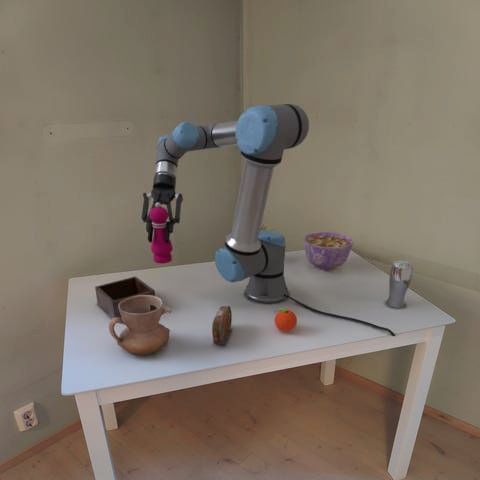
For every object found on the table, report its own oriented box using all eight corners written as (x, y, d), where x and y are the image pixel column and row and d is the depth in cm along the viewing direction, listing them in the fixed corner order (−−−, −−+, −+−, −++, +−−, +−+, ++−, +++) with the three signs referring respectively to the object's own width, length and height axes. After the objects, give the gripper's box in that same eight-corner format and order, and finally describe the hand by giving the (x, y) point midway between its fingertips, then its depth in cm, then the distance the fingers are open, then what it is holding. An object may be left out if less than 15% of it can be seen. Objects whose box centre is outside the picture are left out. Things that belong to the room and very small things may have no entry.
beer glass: (409, 304, 158) (417, 264, 151) (400, 311, 154) (408, 270, 146) (390, 298, 162) (397, 258, 155) (381, 304, 158) (388, 264, 151)
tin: (221, 350, 132) (221, 325, 128) (211, 349, 132) (210, 324, 128) (232, 325, 145) (232, 301, 141) (223, 324, 145) (222, 300, 141)
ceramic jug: (167, 329, 142) (163, 288, 135) (180, 352, 131) (176, 309, 124) (108, 341, 136) (101, 298, 129) (117, 366, 125) (109, 321, 118)
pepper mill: (163, 265, 152) (158, 206, 142) (147, 261, 155) (141, 203, 145) (177, 259, 157) (173, 201, 147) (161, 255, 160) (156, 198, 150)
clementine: (267, 329, 142) (267, 309, 139) (279, 321, 147) (280, 301, 144) (287, 338, 138) (289, 317, 134) (300, 329, 143) (302, 309, 139)
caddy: (156, 308, 155) (155, 290, 151) (115, 321, 147) (112, 302, 144) (137, 293, 165) (135, 276, 162) (97, 304, 157) (94, 286, 154)
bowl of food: (310, 277, 178) (313, 249, 173) (295, 259, 195) (297, 233, 190) (358, 273, 182) (362, 246, 176) (338, 256, 199) (341, 230, 193)
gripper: (192, 185, 158) (187, 246, 152) (141, 184, 159) (134, 245, 153) (189, 173, 151) (183, 236, 144) (136, 172, 152) (128, 235, 146)
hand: (158, 240), depth 149 cm, fingers closed on pepper mill, 5 cm apart
